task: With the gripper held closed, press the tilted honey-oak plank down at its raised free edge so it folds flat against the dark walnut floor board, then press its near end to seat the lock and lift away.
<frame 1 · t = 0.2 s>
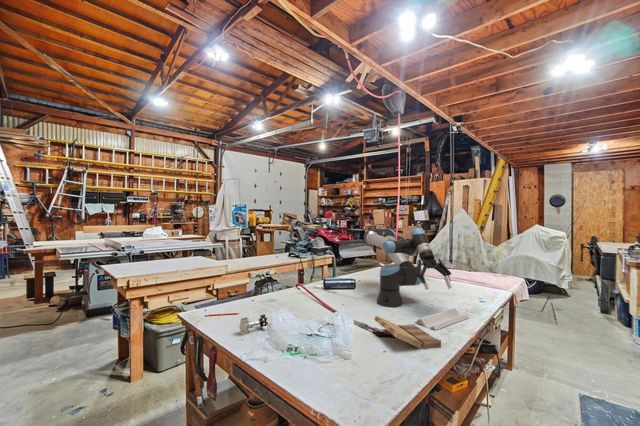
hand: (439, 288, 150), 16 cm above the table, tool tilted 35°, fingers open, 13 cm apart
valve: (252, 332, 128), on the table
crown molding: (442, 321, 147), on the table
oak plank: (396, 330, 122), point 4 cm above the table, hinge at 25.0°
walnut floor board: (418, 337, 124), on the table
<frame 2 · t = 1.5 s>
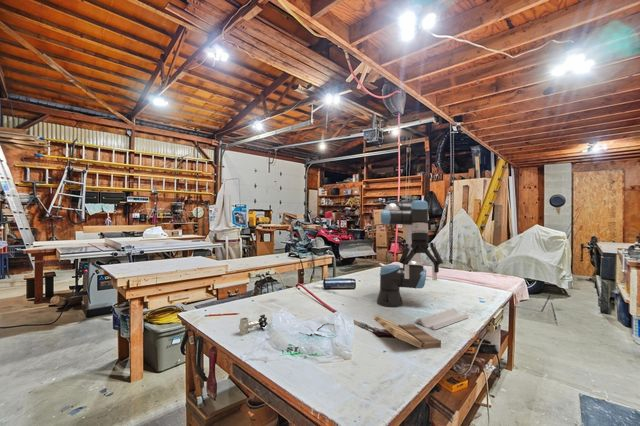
hand: (420, 279, 129), 24 cm above the table, tool pointing down, fingers open, 13 cm apart
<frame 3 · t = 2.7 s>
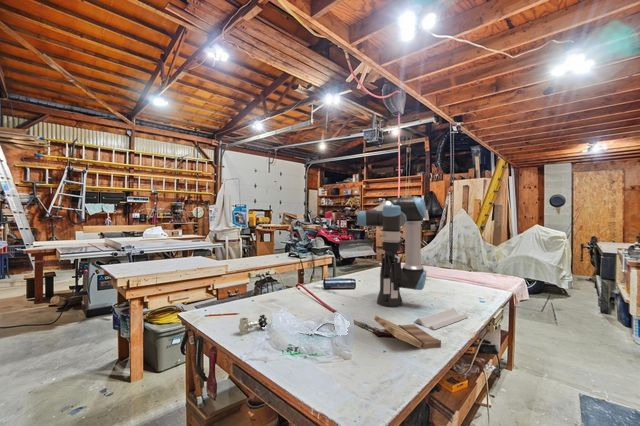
hand: (390, 295, 121), 19 cm above the table, tool pointing down, fingers open, 6 cm apart
nothing on the table moved.
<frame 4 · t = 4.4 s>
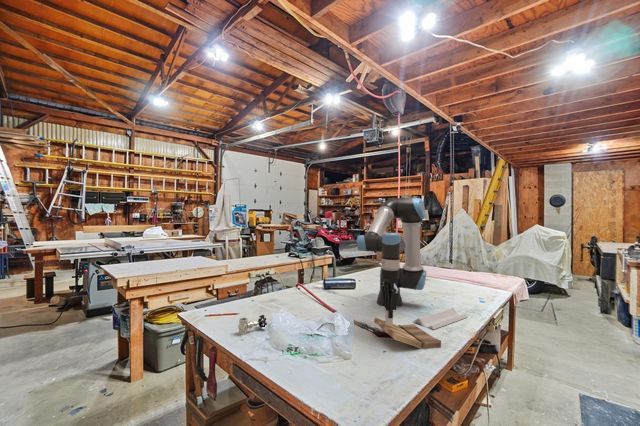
hand: (388, 324, 121), 7 cm above the table, tool pointing down, fingers closed
oak plank: (395, 331, 122), point 4 cm above the table, hinge at 21.0°, touching gripper
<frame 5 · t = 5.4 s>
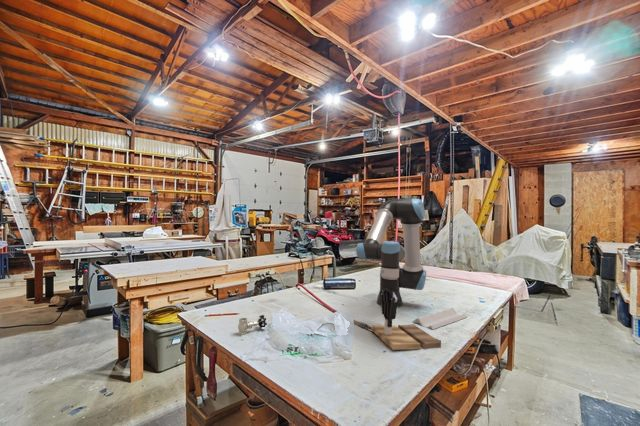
hand: (387, 333, 121), 3 cm above the table, tool pointing down, fingers closed
oak plank: (394, 336, 122), point 2 cm above the table, hinge at 4.2°, touching gripper
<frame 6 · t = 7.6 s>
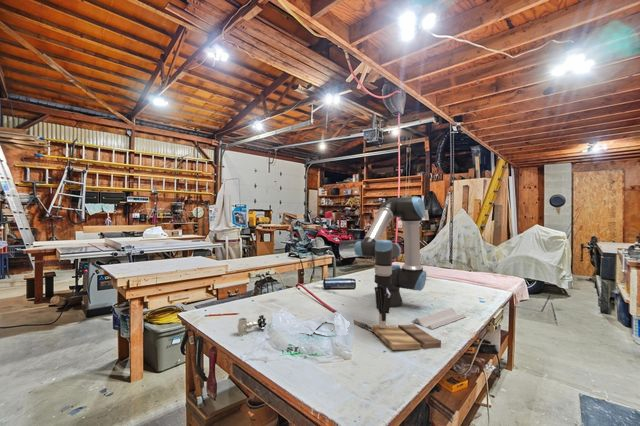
hand: (382, 327, 128), 3 cm above the table, tool pointing down, fingers closed
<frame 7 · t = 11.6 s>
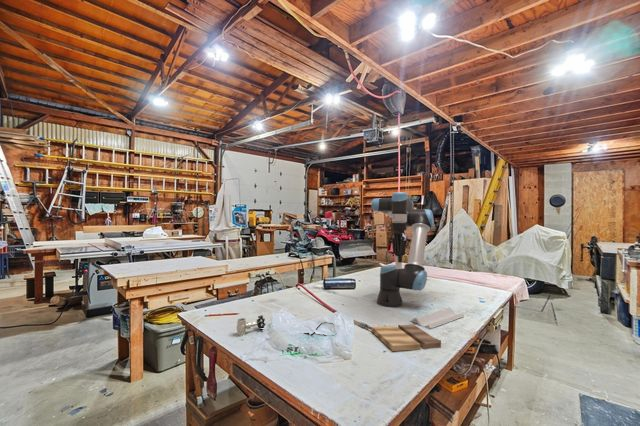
hand: (398, 268, 146), 26 cm above the table, tool pointing down, fingers closed
oak plank: (394, 337, 122), point 1 cm above the table, hinge at 2.0°
at the end: oak plank at +2° (first picture: +25°) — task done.
